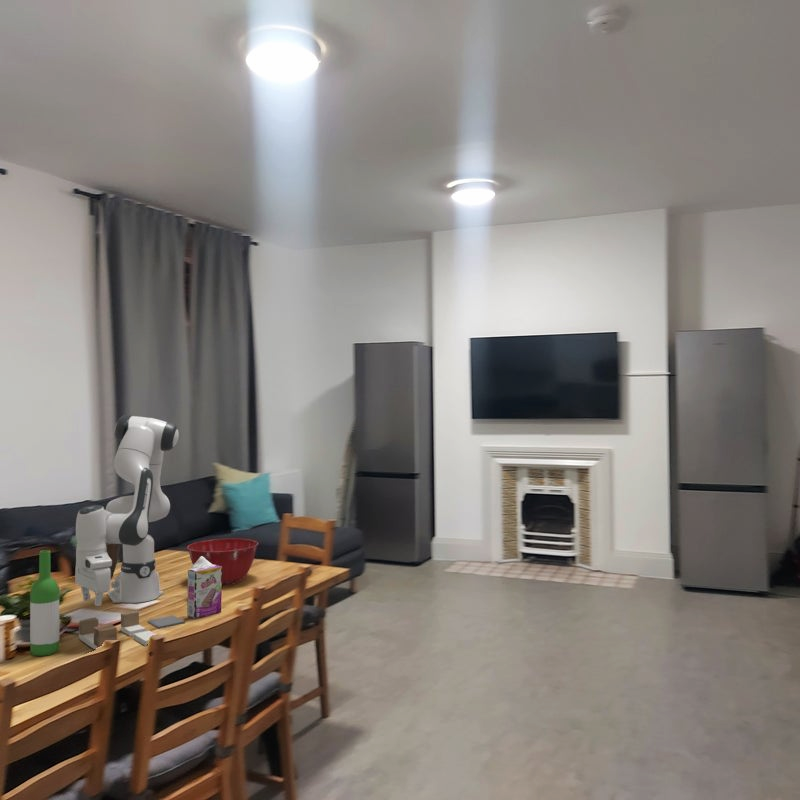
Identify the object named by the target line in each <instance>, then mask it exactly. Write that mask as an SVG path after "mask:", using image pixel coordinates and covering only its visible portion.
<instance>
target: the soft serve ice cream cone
mask: <svg viewBox="0 0 800 800" xmlns="http://www.w3.org/2000/svg"><path fill="white" fill-rule="evenodd" d="M208 565H212V564H211V563H210V562H209V561H207V560H206V559H205V558H204V557H203V556H201V557H200V558H199V559H198V560H197V561H196V563H195V564H194V565H193V564H192V566H191V567H190V569H193V568H198V567H203V566H208Z"/></svg>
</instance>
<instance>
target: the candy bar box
mask: <svg viewBox="0 0 800 800" xmlns="http://www.w3.org/2000/svg"><path fill="white" fill-rule="evenodd" d="M222 586H223V585H222V566H219V565H208V566H203V567H198V568H193V569H191V568H190V569H187V605H186V607H187V611H186V614H187V617H188V618H191V619H193V620H196V619H199V618H204V617H207V616H211V615H212V616H213V615H215V614H219V613H221V612H222Z"/></svg>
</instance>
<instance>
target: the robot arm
mask: <svg viewBox="0 0 800 800" xmlns="http://www.w3.org/2000/svg"><path fill="white" fill-rule="evenodd" d="M179 437H180V435H179V427H178V426H177V425H176V424H175V423H172V422H170V421H164V420H161V419H157V418H154V417H145V416H136V415H132V414H123V415H122V416H120V417H119V418H118V419H117V422H116V423H115V425H114V438H115V439H116V440H117V442H119V443H120V444H119V446H118V448H117V451H116V454H115V457H114V461H113V467H114V471H115V473H116V475H118V476H119V477H120V478H121V479H122V480H125V481H126V482H128V483H131V484H132V485H133V486H134V493H133V494H131V495H123V496H120V497H117V498H115V499H112V500H110V501H109V502H108V503H107V504H106V507H104V506H102V505H100V504H98V505H97V504H94V505H93V504H92V505H88V506H84V507H82V508H81V509H79V510H78V513H77V515H76V519H75V520H76V521H75V537H76V538H75V539H76V543H77V544H76V548H75V557H76V559H75V569H74V570H75V571H74V573H75V574H74V576H75V577H74V579H75V580H74V582H75V584H76V585H78V586H80V589H81V592H82V593H81V594H82V601H84V602H85V601H87V602H88V601H90V600H91V594H90V591H92V592H93V593H94V595H95V598H94V600H93V602H94V603H93V605H94V606H96V607H100V606H102V602H103V597H104V594H105V593H107V595H108V597H109V599H110V600H111V601H112V603H115V604H117V603H125V604H127V603H128V604H133V603H144V602H149V601H153V600H155V599H158V598H159V597H160V596H162V595H164V591H163V590H161V588H160V587H161V586H160V575H159V572H158V571H156V559H155V540H154V538H153V537H152V535H150V534H149V525H150V524H149V523H152V522H157V521H160V520H161V519H164V518H166V517H167V516H168V514H169V513H170V509H171V503H170V500H169V498H168V496H167V495H166V494H165V493H164V492H163V491H162V488H161V472H162V468H163V467H162V466H163V461H164V452H167V451H168V452H169V451H171V450H173V449H174V448H175V446H176V445H177V443H178V441H179ZM106 543H112V544H121V546H122V561H121V564H120V572H119V573H118V575H117V576H116V577H115V578H114V581H111V580H112V579H111V570H110V567H109V566H112V560H111V558H110V557H109V556H108V553H107V547H106ZM110 588H111V590H110Z"/></svg>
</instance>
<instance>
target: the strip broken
mask: <svg viewBox="0 0 800 800" xmlns="http://www.w3.org/2000/svg"><path fill="white" fill-rule="evenodd" d="M120 631H121V632H123V633H124V634H125V635H128V636H129V637H132V636H133V639H134V640H135V641H137V642H139V644H142V645H143V646H145V647H147V646H148V645H147V644H148V640H149V638H150V636H152V635H157V633H155V632H153V631H151V630H146V628H145V627H144V626H142V625H140V612H139V611H137V610H131V611H127V612H122V613H120ZM146 645H147V646H146Z"/></svg>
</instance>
